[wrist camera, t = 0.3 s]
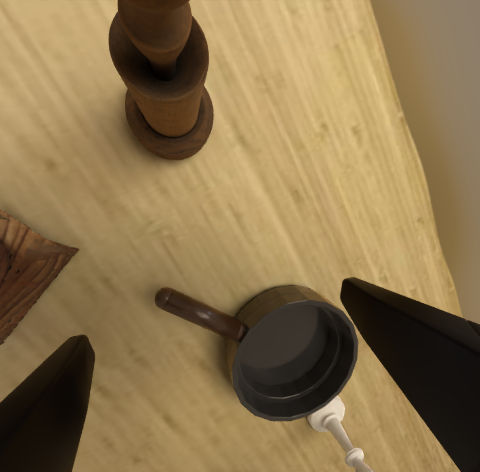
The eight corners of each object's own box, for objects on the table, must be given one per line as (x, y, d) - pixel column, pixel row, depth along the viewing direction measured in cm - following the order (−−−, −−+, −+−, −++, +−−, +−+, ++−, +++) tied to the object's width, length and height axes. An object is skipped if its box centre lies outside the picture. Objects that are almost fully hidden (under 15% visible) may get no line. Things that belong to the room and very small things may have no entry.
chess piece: (301, 427, 31) (355, 535, 21) (313, 392, 30) (374, 488, 21) (334, 427, 32) (399, 529, 23) (347, 394, 32) (419, 485, 22)
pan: (295, 403, 30) (312, 435, 26) (202, 367, 26) (205, 399, 22) (354, 313, 29) (380, 332, 25) (267, 263, 25) (282, 276, 22)
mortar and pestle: (114, 92, 20) (-378, -585, 2) (189, 62, 20) (234, -611, 3) (155, 172, 21) (51, 119, 4) (223, 142, 22) (370, -7, 5)
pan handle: (248, 321, 24) (253, 332, 22) (238, 336, 24) (242, 348, 22) (162, 280, 21) (160, 289, 20) (151, 298, 21) (149, 308, 20)
